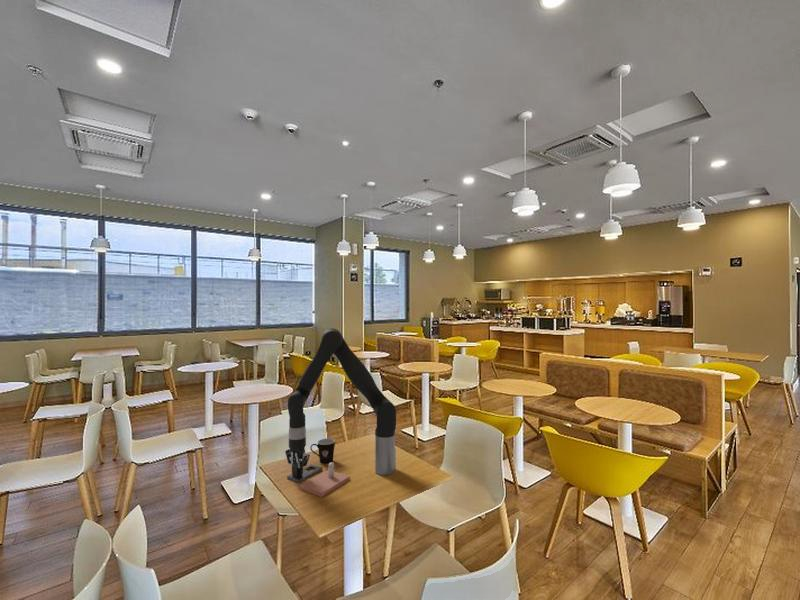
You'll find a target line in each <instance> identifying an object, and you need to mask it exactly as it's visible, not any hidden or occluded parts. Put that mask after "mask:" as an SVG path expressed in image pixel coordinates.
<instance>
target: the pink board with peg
mask: <svg viewBox="0 0 800 600" xmlns="http://www.w3.org/2000/svg"><path fill="white" fill-rule="evenodd" d="M327 465H328V469H326V470H325V471H323V472H321V473H320V474H318V475H316V476H313V477H312V478H310V479H308V480H306V481H305V482H304V481H303V482H302V483H301V484H299V485H298V490H300V491H304V492H307V493H308V494H309V493H310V494H312V495H315V496H317V497H321V498H323V497H324V496H325V495H328V493H330V492H332V491H334V490H335V489H337V488H338V487H340V486H341V485H343V484H344V483H346V482H348V481H350V480H351V475H348V474H344V473H342V472H337V471H335V463H334V462H331V463H329V464H327Z"/></svg>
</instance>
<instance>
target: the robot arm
mask: <svg viewBox="0 0 800 600" xmlns="http://www.w3.org/2000/svg"><path fill="white" fill-rule="evenodd" d="M314 355H315V356H314V357H313V359H312V360H311V361H310V363H309V364H308V365H307V367H306V369H305V370H304V372H303V374H302V376H301V377H300V379H299V381H298V385H297V387H295V388H296V389H295V390H294V392H293V393H291V394H290V395H289V396H288V399H287V409H288V411H287V412H288V415H289V422H288V423H289V424H288V425H289V428H288V448H289V449H286V450H285V451H284V452H285V457H286V459H287V464H290V466H291V467H292V463H293V462H297V463H298V476H301V475H302V474H303V468H304V467H306V466H308V463H309V459H310V457H311V456H310V453H306V449H305V447H306V445H307V429H306V428H307V427H306V414H305V413H304V405H305V403H306V402H307V400H308V399H309V396H310V394H311V392H312V390H313V388H314V387H315V386H316V384H317V381H319V378H320V376H321V374H322V372H323V370H324V369H325V367H326V365H327V363H328V361H329V360H330V359H331V357H333V355H334V356H335V357H336V359H337V360H338V361H339V364H340V366H341V368H342V369H343V371H344V373H345V374H346V377H347V378H348V380H349V381H350V382H351V383H352V384H353V386H354V387H355V388H356V390H358V391H359V392H360V394H362V395H363V396H364V398H365V399H366V400H367V402H368V403H369V404H370V407H371V409H372V411H373V412H374V414H375V416H376V426H375V427H376V428H375V429H374V433H375V434H374V445H375V447H374V448H375V449H374V450H375V451H374V457H375V459H374V461H375V462H374V465H375V466H374V467H375V468H374V469H375V473H376V474H377V475H378V476H379V475H380V476H390V475H393V474H394V473H395V471H396V469H397V468H396V461H397V460H396V459H397V458H396V457H397V456H396V455H397V454H396V447H395V446H396V445H395V444H396V443H395V442H396V437H395V435H396V429H397V428H396V427H397V408H396V406H395V404H393V403H392V401H390V400H389V399H388V398H387V397H386V396H385V394H383V393H382V391H381V389H379V387H378V386H377V384H376V382H375V380H374V377H373V376H372V374H371V373H370V371H369V369H368V368H366V366H365V364H364V363H363V362H362V360H360V359H359V357H358V356H357V355H356V354H355V353H354V352H353V351H352V349H350V347H349V345H348V343H347V342H346V340H345V338H344V337H343V335H342V333H341V332H340V330H338V329H337V328H332V327H331V328H327V329H325V330H324V332H323V333H322V335H321V342H320V344H319V347H318V349H317V352H316V354H314ZM300 462H301V465H300Z"/></svg>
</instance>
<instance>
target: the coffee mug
mask: <svg viewBox="0 0 800 600" xmlns="http://www.w3.org/2000/svg"><path fill="white" fill-rule="evenodd" d="M335 445H336V440H335V439H334V438H322V439H319V440H318V441H317V444H316V443H313V444H311V445H310V447H309V448H310V451H311V452H312V453H313V454H314V455H316V456H318V459H319V463H320V464H321V465H329V463H331V462H332V463H334V454H335ZM313 446H316V447H317V450H318V453H317V452H316V451H314V450H313V449H312V448H313Z"/></svg>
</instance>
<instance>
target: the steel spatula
mask: <svg viewBox="0 0 800 600" xmlns="http://www.w3.org/2000/svg"><path fill="white" fill-rule="evenodd" d="M300 465H301V462H300ZM322 471H323V467H321V466H318V465H314V464H309V465H308V464H307V465H306V466H304V467H303V474H302V475H301V476H298V463H297V462H293V463H292V466H291V474H289V475H287V476H286V478H287V480H290V481H293V482H296V483H301V482H304V481H305V480H307V479H308V478H310V477H312V476H314V475H316V474H318V473H320V472H322Z"/></svg>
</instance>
